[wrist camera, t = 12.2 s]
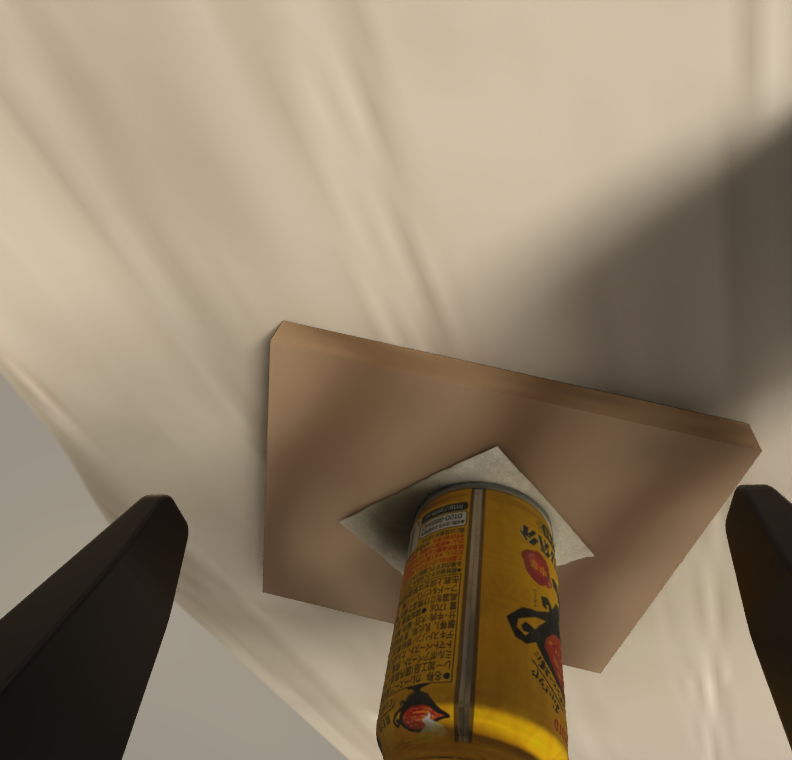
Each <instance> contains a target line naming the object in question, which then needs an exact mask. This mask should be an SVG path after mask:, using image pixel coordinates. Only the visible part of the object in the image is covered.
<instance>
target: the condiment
mask: <svg viewBox="0 0 792 760" xmlns="http://www.w3.org/2000/svg"><path fill="white" fill-rule="evenodd" d="M339 523H340V524H341V525H343V526H344V527H345V528H346V529H347V530H349V531H350V532H353V533H354V534H356V535H357V537H359V538H360V539H361V540H362V541H364V542H365V543H366V544H367V545H368V546H369V547H370V548H371V549H373V550H374V551H375V552H377V553H378V554H379V555H381V556H382V557H383V558H384V559H385V560H386V561H387V562H388V563H389V564H390V565H391V566H393V567H394V568H395V569H396V570H399V571H400V572H401V574H402V575H403V580H402V585H401V590H400V596H399V603H398V608H397V614H396V619H395V625H394V631H393V636H392V642H391V647H390V653H389V656H388V665H387V670H386V675H385V682H384V687H383V692H382V698H381V703H380V709H379V715H378V719H377V726H376V736H377V742H378V746H379V748H380V751H381V753H382V755H383V759H384V760H569V758H568V744H567V743H568V734H567V722H566V710H565V695H564V681H563V670H562V649H561V638H560V613H559V609H560V602H559V596H558V577H557V574H556V568H557V566H559V565H565V564H567V563H569V562H571V561H575V560H577V559H581V558H585V557H593V556H594V555H593V553H592V552H591V551H590V550H589V549H588V548H587V546H586V545H585V544H584V543H583V542H582V541H581V539H580V538H579V537H578V536H577V535H576V534H575V533H574V531H573V530H572V529H571V527H570V526H569V525H568V524H567V523H566V521H565V520H564V519H563V518H562V517H561V516H560V515H559V514H558V512H557V511H556V510H555V509H554V508H553V507H552V505H551V504H550V503H549V502H548V501H547V500H546V499H545V498H544V497H543V496H542V494H541V493H540V492H539V491H538V490H537V489H536V488H535V487H534V486H533V485H532V483H531V482H530V481H529V480H528V479H527V478H526V477H525V476H524V475H523V474H522V473H520V472H519V471H518V469H517V468H516V467H515V466H514V465H513V464H512V462H511V461H510V460H509V459H508V458H507V457H506V456H505V455H504V453H503V452H502V451H501V450H500V449H499V447H498V446H497V447H494V448H492V449H490V450H488V451H486V452H484V453H481V454H479V455H477V456H474V457H472V458H470V459H468V460H465V461H463V462H460V463H458V464H456V465H454V466H453V467H452V468H449V469H446V470H443V471H441V472H439V473H437V474H434V475H432V476H431V477H429V478H428V479H424V480H422V481H420V482H419V483H417V484H415V485H413V486H412V487H408V488H407V489H405V490H404V491H402V492H401V493H399V494H397V495H395V496H392V497H389V498H387V499H385V500H383V501H381V502H378V503H376V504H373V505H371V506H369V507H367V508H366V509H364V510H362V511H361V512H359V513H357V514H356V515H354V516H351V517H348V518H346V519H344V520H342V521H340V522H339Z"/></svg>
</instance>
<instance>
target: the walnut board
mask: <svg viewBox="0 0 792 760" xmlns="http://www.w3.org/2000/svg"><path fill="white" fill-rule="evenodd" d="M497 446H498V447H499V449H500V450H501V451H502V452H503V453H504V455H505V456H506V457H507V458H508V459H509V460H510V461H511V462H512V464H513V465H514V466H515V467H516V468H517V469H518V471H519V472H520V473H522V474H523V475H524V476H525V477H526V478H527V479H528V480H529V481H530V482H531V483H532V485H533V486H534V487H535V488H536V489H537V490H538V491H539V492H540V493H541V494H542V496H543V497H544V498H545V499H546V500H547V501H548V502H549V503H550V504H551V505H552V507H553V508H554V509H555V510H556V511H557V512H558V514H559V515H560V516H561V517H562V518H563V519H564V520H565V521H566V523H567V524H568V525H569V526H570V527H571V529H572V530H573V531H574V533H575V534H576V535H577V536H578V537H579V538H580V539H581V541H582V542H583V543H584V544H585V545H586V546H587V548H588V549H589V550H590V551H591V552H592V553H593V555H594V556H593V557H585V558H581V559H577V560H575V561H571V562H569V563H567V564H565V565H559V566H557V568H556V574H557V577H558V596H559V602H560V609H559V613H560V638H561V649H562V664H563V665H567V666H572V667H576V668H580V669H584V670H588V671H592V672H596V673H601V672H602V671H603V669H604V668H605V666H606V665H607V664H608V662H609V661H610V660H611V658H612V657H613V655H614V654H615V653H616V651H617V650H618V649H619V647H620V646H621V644H622V643H623V642H624V640H625V639H626V638H627V636H628V635H629V633H630V632H631V631H632V629H633V628H634V626H635V625H636V624H637V622H638V621H639V620H640V618H641V617H642V615H643V614H644V613H645V611H646V610H647V609H648V607H649V606H650V604H651V603H652V602H653V600H654V599H655V598H656V596H657V595H658V593H659V592H660V591H661V589H662V588H663V587H664V585H665V584H666V582H667V581H668V580H669V578H670V577H671V575H672V574H673V573H674V571H675V570H676V569H677V567H678V566H679V564H680V563H681V562H682V560H683V559H684V558H685V556H686V555H687V553H688V552H689V551H690V549H691V548H692V547H693V545H694V544H695V542H696V541H697V540H698V538H699V537H700V536H701V534H702V533H703V531H704V530H705V529H706V527H707V526H708V524H709V523H710V522H711V520H712V519H713V518H714V516H715V515H716V513H717V512H718V511H719V509H720V508H721V507H722V505H723V504H724V502H725V501H726V500H727V498H728V497H729V496H730V494H731V493H732V491H733V490H734V489H735V487H736V486H737V485H738V483H739V482H740V480H741V479H742V478H743V476H744V475H745V473H746V472H747V471H748V469H749V468H750V467H751V465H752V464H753V462H754V461H755V460H756V458H757V457H758V456H759V454H760V453H761V451H762V450H761V448H760V446H759V444H758V442H757V440H756V438H755V436H754V434H753V432H752V430H751V428H750V426H749V424H747V423H742V422H738V421H733V420H729V419H724V418H720V417H715V416H711V415H706V414H702V413H697V412H693V411H688V410H684V409H679V408H674V407H670V406H665V405H661V404H656V403H652V402H647V401H643V400H638V399H634V398H629V397H625V396H620V395H616V394H611V393H607V392H602V391H598V390H593V389H589V388H584V387H580V386H575V385H571V384H566V383H562V382H557V381H553V380H548V379H544V378H539V377H535V376H530V375H526V374H521V373H517V372H512V371H508V370H503V369H499V368H494V367H490V366H485V365H481V364H476V363H472V362H467V361H463V360H458V359H454V358H449V357H445V356H440V355H436V354H431V353H427V352H422V351H418V350H413V349H408V348H404V347H399V346H395V345H390V344H386V343H381V342H377V341H372V340H368V339H363V338H359V337H354V336H350V335H345V334H341V333H336V332H332V331H327V330H323V329H318V328H314V327H309V326H305V325H300V324H296V323H291V322H287V321H283V322H282V323H281V325H280V327H279V328H278V330H277V331H276V333H275V334H274V336H273V338H272V339H271V341H270V367H269V399H268V432H267V464H266V497H265V529H264V561H263V592H265V593H269V594H273V595H277V596H281V597H285V598H290V599H294V600H298V601H302V602H306V603H310V604H314V605H319V606H323V607H327V608H331V609H335V610H339V611H343V612H348V613H352V614H356V615H360V616H364V617H368V618H372V619H377V620H381V621H385V622H389V623H393V624H395V619H396V614H397V608H398V603H399V596H400V590H401V585H402V580H403V575H402V574H401V572H400V571H399V570H396V569H395V568H394V567H393V566H391V565H390V564H389V563H388V562H387V561H386V560H385V559H384V558H383V557H382V556H381V555H379V554H378V553H377V552H375V551H374V550H373V549H371V548H370V547H369V546H368V545H367V544H366V543H365V542H364V541H362V540H361V539H360V538H359V537H357V535H356V534H354V533H353V532H350V531H349V530H347V529H346V528H345V527H344V526H343V525H341V524H340V523H339V522H340V521H342V520H344V519H346V518H348V517H351V516H354V515H356V514H357V513H359V512H361V511H362V510H364V509H366V508H367V507H369V506H371V505H373V504H376V503H378V502H381V501H383V500H385V499H387V498H389V497H392V496H395V495H397V494H399V493H401V492H402V491H404V490H405V489H407V488H408V487H412V486H413V485H415V484H417V483H419V482H420V481H422V480H424V479H428V478H429V477H431V476H432V475H434V474H437V473H439V472H441V471H443V470H446V469H449V468H452V467H453V466H454V465H456V464H458V463H460V462H463V461H465V460H468V459H470V458H472V457H474V456H477V455H479V454H481V453H484V452H486V451H488V450H490V449H492V448H494V447H497Z"/></svg>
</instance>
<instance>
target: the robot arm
mask: <svg viewBox="0 0 792 760" xmlns="http://www.w3.org/2000/svg"><path fill="white" fill-rule="evenodd" d="M726 535H727V539H728V544H729V548H730V552H731V556H732V561H733V565H734V569H735V573H736V578H737V582H738V586H739V590H740V595H741V599H742V603H743V607H744V612H745V616H746V620H747V624H748V628H749V631H750V635H751V638H752V641H753V644H754V647H755V650H756V653H757V656H758V659H759V661H760V664H761V667H762V670H763V672H764V675H765V678H766V681H767V683H768V686H769V689H770V692H771V694H772V697H773V700H774V703H775V706H776V708H777V711H778V714H779V717H780V719H781V722H782V725H783V728H784V730H785V733H786V736H787V739H788V741H789V744H790V747H791V750H792V503H790V502H789V501H788V500H787V499H786V498H785V497H783V496H782V495H781V494H780V493H779V492H778V491H777V490H775V489H774V488H773V487H771V486H768V485H740V486H738V487H737V488H736V490H735V492H734V495H733V499H732V502H731V505H730V508H729V512H728V515H727V518H726ZM187 539H188V525H187V522H186V520H185V519H184V517H183V515H182V514H181V512H180V510H179V509H178V507H177V505H176V504H175V502H174V500H173V499H172V498H171V497H170V496H168V495H147V496H144V497H142V498H141V499H140V500H139V501H137V502H136V503H135V504H134V505H133V506H132V507H130V508H129V509H128V510H127V511H126V512H125V513H123V514H122V515H121V516H120V517H119V518H118V519H116V520H115V521H114V522H113V523H112V524H111V525H109V526H108V527H107V528H106V529H105V530H104V531H103V532H101V533H100V534H99V535H98V536H97V537H96V538H95V539H93V540H92V541H91V542H90V543H89V544H87V545H86V546H85V547H84V548H83V549H82V550H80V551H79V552H78V553H77V554H76V555H75V556H73V557H72V558H71V559H70V560H69V561H68V562H67V563H65V564H64V565H63V566H62V567H61V568H60V569H58V570H57V571H56V572H55V573H54V574H53V575H51V576H50V577H49V578H48V579H47V580H46V581H45V582H43V583H42V584H41V585H40V586H39V587H37V589H35V590H34V591H33V592H32V593H31V594H29V595H28V596H27V597H26V598H25V599H24V600H23V601H21V603H19V604H18V605H17V606H15V607H14V608H13V609H12V610H11V611H10V612H8V613H7V614H6V615H5V616H4V617H3V618H1V619H0V760H122V757H123V754H124V751H125V748H126V745H127V742H128V739H129V737H130V733H131V731H132V728H133V725H134V722H135V719H136V716H137V713H138V710H139V706H140V704H141V701H142V698H143V695H144V692H145V689H146V686H147V683H148V680H149V677H150V674H151V671H152V669H153V666H154V663H155V659H156V657H157V653H158V651H159V648H160V645H161V642H162V639H163V636H164V633H165V630H166V627H167V623H168V620H169V617H170V613H171V609H172V605H173V601H174V596H175V592H176V588H177V583H178V579H179V574H180V570H181V566H182V561H183V557H184V552H185V548H186V544H187Z"/></svg>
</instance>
